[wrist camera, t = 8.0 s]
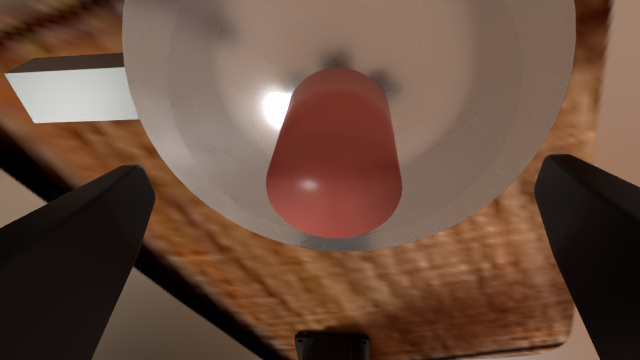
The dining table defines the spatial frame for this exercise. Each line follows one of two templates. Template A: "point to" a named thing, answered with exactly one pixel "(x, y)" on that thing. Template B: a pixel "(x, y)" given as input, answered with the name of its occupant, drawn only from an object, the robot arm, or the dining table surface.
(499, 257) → the dining table surface
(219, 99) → the lid
